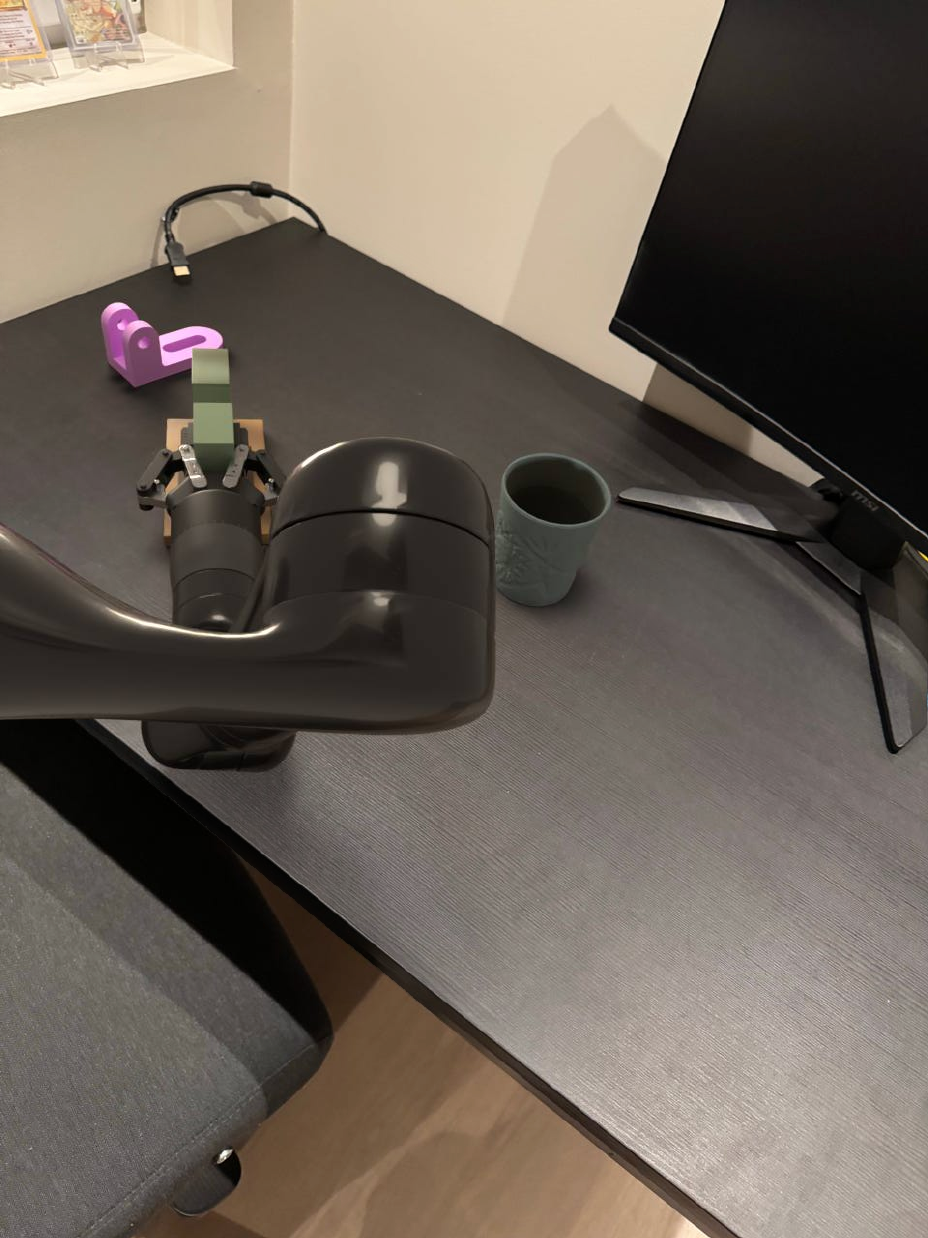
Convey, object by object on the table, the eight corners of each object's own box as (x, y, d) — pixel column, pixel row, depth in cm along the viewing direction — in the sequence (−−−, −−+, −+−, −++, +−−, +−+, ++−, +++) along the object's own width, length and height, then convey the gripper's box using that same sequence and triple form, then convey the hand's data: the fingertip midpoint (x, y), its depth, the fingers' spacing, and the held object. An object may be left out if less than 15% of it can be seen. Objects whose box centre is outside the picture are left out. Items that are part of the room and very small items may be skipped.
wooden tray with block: (272, 544, 83) (271, 460, 75) (165, 547, 81) (152, 461, 73) (262, 430, 94) (260, 346, 86) (168, 429, 92) (157, 343, 84)
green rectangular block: (238, 516, 83) (233, 443, 76) (201, 517, 82) (193, 443, 75) (236, 476, 86) (231, 402, 80) (200, 476, 85) (193, 402, 79)
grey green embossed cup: (586, 561, 89) (620, 472, 80) (565, 627, 82) (599, 539, 73) (495, 530, 90) (519, 439, 81) (467, 594, 83) (489, 502, 74)
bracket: (134, 387, 95) (126, 331, 90) (108, 362, 97) (98, 307, 92) (232, 354, 102) (229, 300, 97) (205, 331, 104) (201, 278, 99)
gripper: (303, 523, 70) (289, 397, 80) (121, 527, 66) (131, 395, 77) (302, 584, 75) (289, 459, 86) (134, 591, 72) (141, 460, 82)
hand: (214, 429), depth 81 cm, fingers closed on green rectangular block, 3 cm apart
